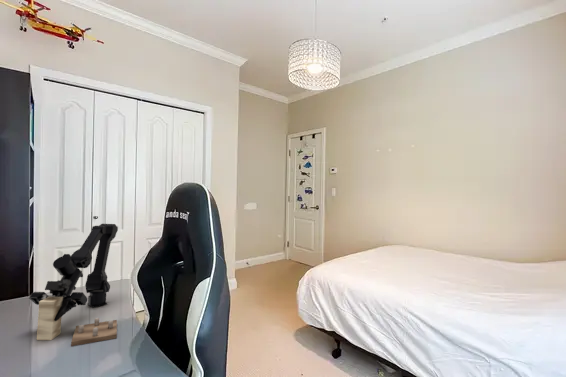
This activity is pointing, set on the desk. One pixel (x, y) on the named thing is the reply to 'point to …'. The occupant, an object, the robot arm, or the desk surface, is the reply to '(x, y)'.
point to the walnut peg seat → (94, 332)
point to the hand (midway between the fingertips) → (47, 320)
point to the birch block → (49, 318)
